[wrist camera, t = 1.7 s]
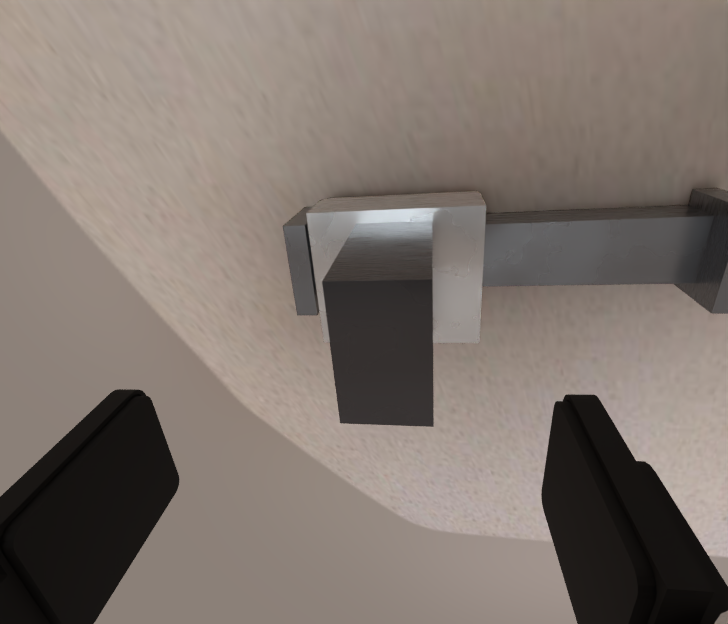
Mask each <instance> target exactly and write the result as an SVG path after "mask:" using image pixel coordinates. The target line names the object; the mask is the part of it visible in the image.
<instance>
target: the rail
mask: <svg viewBox="0 0 728 624" xmlns="http://www.w3.org/2000/svg"><path fill="white" fill-rule="evenodd" d="M311 208H312V207H304V208H303V209H302V210H301V211H300V212H299V213H297V214H296V215H295V216H294V217H293V218H292V219H291V220H289V221H288V222H287V223H286V224H285V225H284V226H283V230H284V237H285V243H286V249H287V255H288V261H289V267H290V273H291V280H292V286H293V292H294V298H295V304H296V310H297V315H318V313H319V304H318V296H317V289H316V282H315V274H314V267H313V260H312V253H311V245H310V238H309V231H308V223H307V216H306V213H307V212H308V211H309V210H310V209H311ZM671 283H673V284H674V285H676V286H677V287H678V288H679V289H681V290H682V291H683V292H685V293H686V294H687V295H688V296H690V297H691V298H692V299H694V300H695V301H696V302H697V303H699V304H700V305H701V306H703V307H704V308H705V309H706V310H708V311H709V312H710V313H728V191H725V190H722V189H719V188H711V189H693V190H692V194H691V198H690V202H689V205H678V206H654V207H630V208H605V209H581V210H557V211H532V212H508V213H486V221H485V241H484V261H483V281H482V286H535V285H603V284H671Z"/></svg>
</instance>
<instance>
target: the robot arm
mask: <svg viewBox="0 0 728 624" xmlns="http://www.w3.org/2000/svg"><path fill="white" fill-rule="evenodd" d="M178 485H179V475H178V472H177V470H176V467H175V464H174V461H173V458H172V456H171V453H170V450H169V448H168V445H167V442H166V439H165V436H164V434H163V431H162V428H161V425H160V422H159V420H158V417H157V414H156V411H155V408H154V406H153V403H152V400H151V399H150V398H149V397H148V396H146V395H145V393H144V392H143V391H141V390H115V391H113V392H112V393H110V394H109V395H108V396H107V397H106V398H105V399H104V400H103V401H102V402H101V403H100V404H99V405H98V406H97V407H96V408H94V409H93V410H92V411H91V412H90V413H89V414H88V415H87V416H86V417H85V418H84V419H83V420H82V421H81V422H79V423H78V425H76V426H75V427H74V428H73V429H72V430H71V431H70V432H69V433H68V434H67V435H66V436H65V437H63V438H62V440H60V441H59V443H57V444H56V445H55V446H54V447H53V448H52V449H51V450H50V451H49V452H48V453H47V454H45V455H44V456H43V458H41V459H40V460H39V461H38V462H37V463H36V464H35V465H34V466H33V467H32V468H31V469H29V470H28V471H27V472H26V473H25V474H24V475H23V476H22V477H21V478H20V479H19V480H18V481H17V482H16V483H15V484H14V485H12V486H11V487H10V488H9V489H8V490H7V491H6V492H5V493H4V494H3V495H2V496H1V497H0V624H93V623H94V622H95V621H96V619H97V617H98V616H99V614H100V613H101V611H102V609H103V608H104V606H105V605H106V603H107V601H108V600H109V598H110V597H111V595H112V594H113V592H114V590H115V589H116V587H117V586H118V584H119V582H120V581H121V579H122V578H123V576H124V574H125V573H126V571H127V569H128V568H129V566H130V565H131V563H132V562H133V560H134V558H135V557H136V555H137V553H138V552H139V550H140V549H141V547H142V546H143V544H144V542H145V541H146V539H147V538H148V536H149V534H150V533H151V531H152V530H153V528H154V527H155V525H156V523H157V522H158V520H159V518H160V517H161V515H162V514H163V512H164V510H165V509H166V507H167V506H168V504H169V503H170V501H171V499H172V498H173V496H174V495H175V493H176V491H177V489H178ZM542 505H543V509H544V513H545V516H546V520H547V523H548V526H549V530H550V533H551V536H552V540H553V543H554V546H555V550H556V553H557V556H558V560H559V563H560V566H561V570H562V573H563V576H564V580H565V583H566V586H567V590H568V593H569V596H570V600H571V603H572V606H573V610H574V613H575V616H576V620H577V623H578V624H728V586H727V585H726V583H725V582H724V580H723V578H722V577H721V575H720V574H719V572H718V570H717V569H716V567H715V566H714V564H713V563H712V561H711V560H710V558H709V556H708V555H707V553H706V551H705V550H704V548H703V547H702V545H701V544H700V542H699V540H698V539H697V537H696V536H695V534H694V532H693V531H692V529H691V528H690V526H689V525H688V523H687V521H686V520H685V518H684V517H683V515H682V513H681V512H680V510H679V509H678V507H677V506H676V504H675V502H674V501H673V499H672V498H671V496H670V494H669V493H668V491H667V490H666V488H665V486H664V485H663V483H662V482H661V480H660V479H659V477H658V475H657V474H656V472H655V471H654V470H653V468H652V467H651V466H650V465H649V464H647V463H646V462H642V461H636V460H635V458H634V457H633V455H632V453H631V452H630V450H629V448H628V447H627V445H626V443H625V442H624V440H623V438H622V437H621V435H620V433H619V432H618V430H617V428H616V427H615V425H614V423H613V422H612V420H611V418H610V417H609V415H608V413H607V411H606V410H605V408H604V406H603V405H602V403H601V401H600V400H599V398H598V397H597V396H595V395H565V397H564V399H563V401H557V402H556V403H555V405H554V411H553V417H552V424H551V431H550V438H549V445H548V451H547V458H546V465H545V472H544V479H543V485H542Z"/></svg>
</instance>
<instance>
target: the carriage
mask: <svg viewBox="0 0 728 624" xmlns="http://www.w3.org/2000/svg"><path fill="white" fill-rule="evenodd" d="M306 216H307V223H308V231H309V238H310V245H311V253H312V260H313V267H314V274H315V282H316V289H317V296H318V304H319V311H320V318H321V326H322V333H323V340H324V342H330V347H331V355H332V363H333V370H334V378H335V386H336V393H337V401H338V409H339V417H340V423H349V424H376V425H403V426H430V427H433V343H479V341H480V321H481V301H482V281H483V261H484V241H485V221H486V204H485V202H484V200H483V198H482V196H481V194H480V192H477V191H464V192H444V193H424V194H404V195H383V196H363V197H343V198H327V199H326V200H320V201H319V202H318V203H317V204H316V205H315V206H313V207H312V208H311V209H310V210H309V211H308V212H307V213H306Z"/></svg>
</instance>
